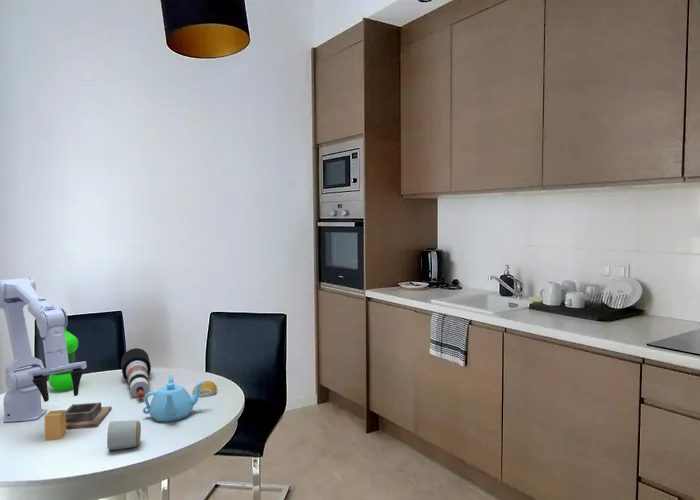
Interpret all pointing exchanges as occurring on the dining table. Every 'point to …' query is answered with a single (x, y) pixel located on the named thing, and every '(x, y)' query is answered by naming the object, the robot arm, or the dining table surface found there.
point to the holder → (85, 415)
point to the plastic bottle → (64, 378)
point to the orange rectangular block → (55, 425)
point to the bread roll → (206, 389)
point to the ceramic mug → (123, 434)
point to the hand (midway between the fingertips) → (61, 398)
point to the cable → (136, 371)
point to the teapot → (171, 402)
